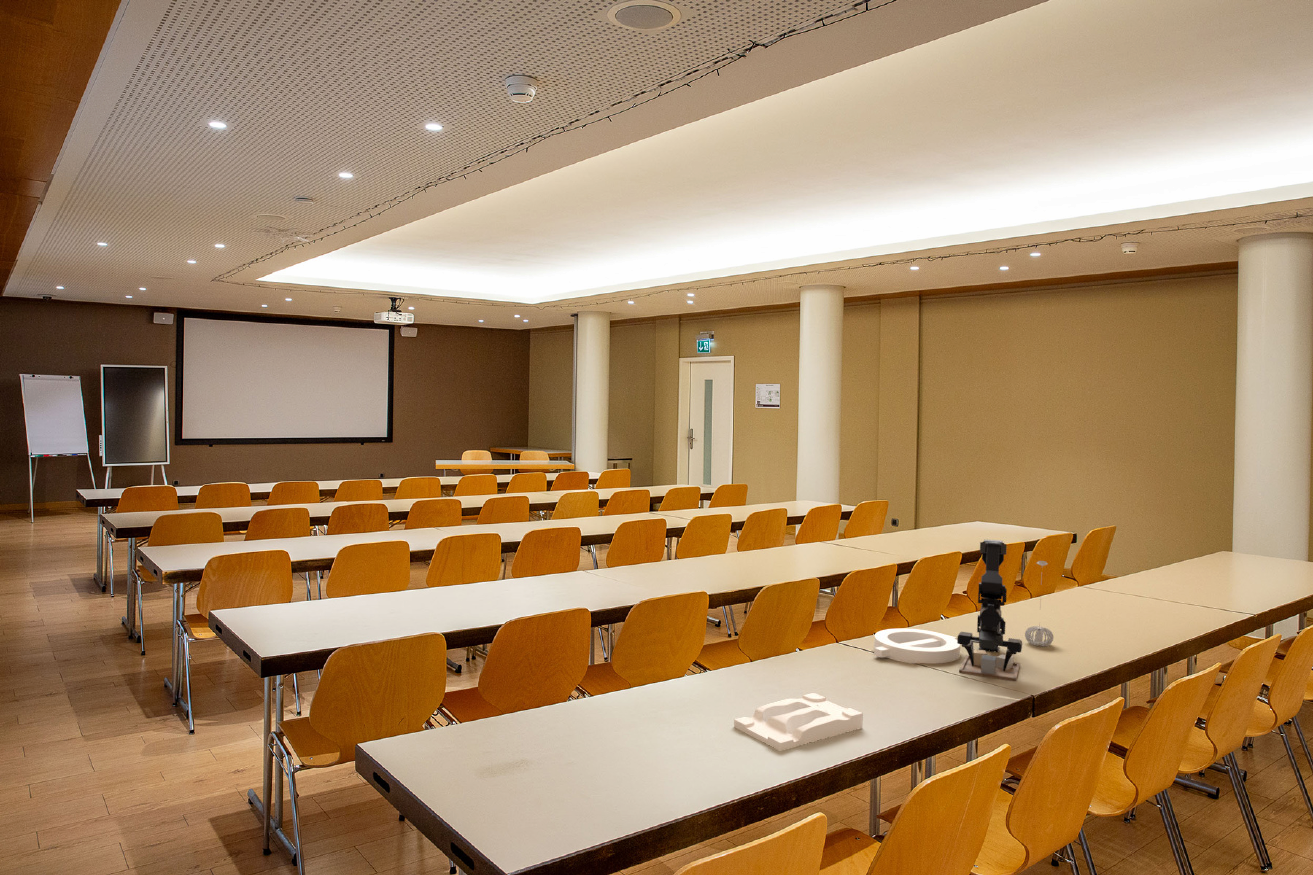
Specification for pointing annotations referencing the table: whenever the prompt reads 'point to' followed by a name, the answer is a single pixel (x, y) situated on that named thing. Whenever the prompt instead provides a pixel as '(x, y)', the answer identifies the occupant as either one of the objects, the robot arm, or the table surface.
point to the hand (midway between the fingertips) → (988, 668)
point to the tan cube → (978, 656)
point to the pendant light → (1039, 628)
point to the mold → (799, 721)
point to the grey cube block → (988, 664)
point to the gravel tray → (1000, 674)
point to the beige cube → (1001, 660)
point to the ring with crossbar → (916, 646)
